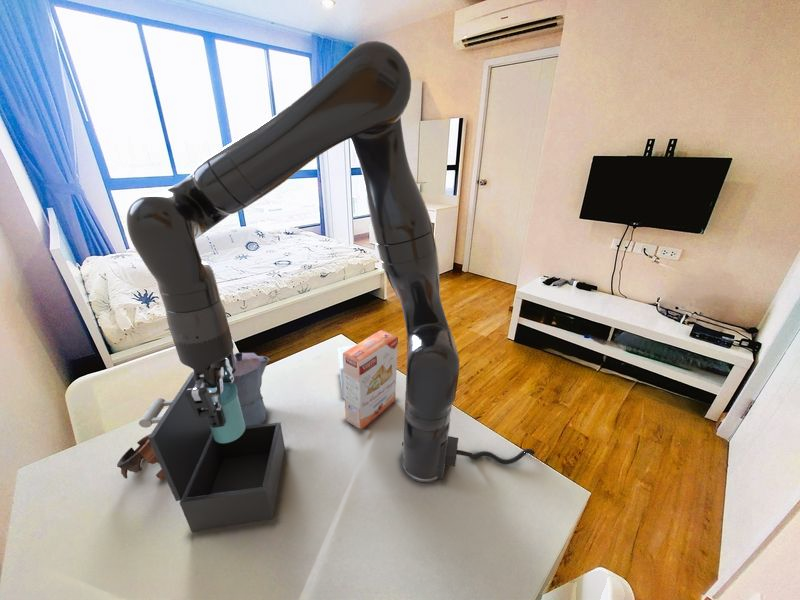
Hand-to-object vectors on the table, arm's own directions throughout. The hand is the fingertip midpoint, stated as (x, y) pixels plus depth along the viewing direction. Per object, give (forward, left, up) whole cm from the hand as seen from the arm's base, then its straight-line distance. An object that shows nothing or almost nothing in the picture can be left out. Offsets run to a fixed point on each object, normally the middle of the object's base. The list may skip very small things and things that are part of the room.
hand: (224, 411), depth 56 cm
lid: (+6, +3, -4) cm, 8 cm away
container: (0, 0, -5) cm, 5 cm away
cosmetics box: (-9, -35, -20) cm, 42 cm away
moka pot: (+11, -15, -20) cm, 28 cm away
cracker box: (-18, -27, -20) cm, 38 cm away
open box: (0, 0, -20) cm, 20 cm away
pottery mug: (+21, 0, -20) cm, 29 cm away
